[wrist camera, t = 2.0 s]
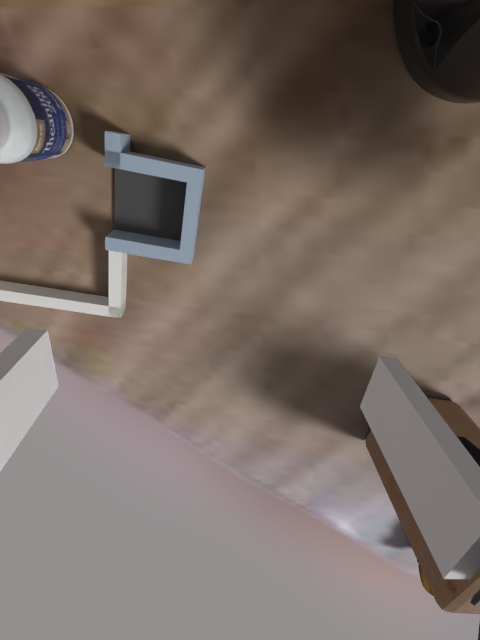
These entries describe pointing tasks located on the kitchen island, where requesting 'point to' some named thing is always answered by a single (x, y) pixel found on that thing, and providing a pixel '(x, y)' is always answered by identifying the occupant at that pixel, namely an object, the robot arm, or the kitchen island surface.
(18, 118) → the pill bottle
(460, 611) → the wooden block
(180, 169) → the blue-grey open frame
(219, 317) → the kitchen island surface
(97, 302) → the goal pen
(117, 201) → the pit
